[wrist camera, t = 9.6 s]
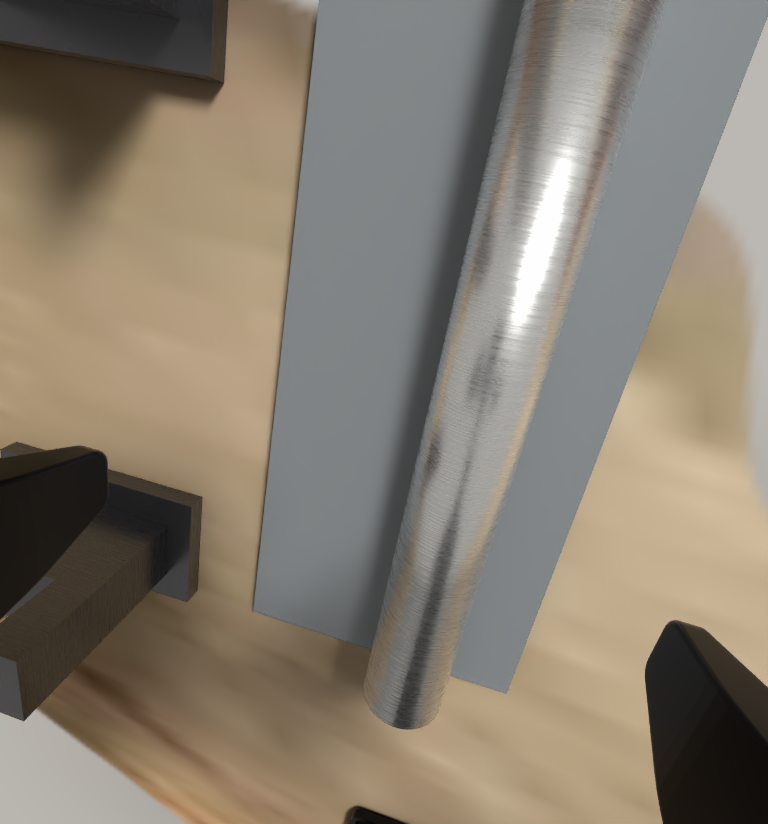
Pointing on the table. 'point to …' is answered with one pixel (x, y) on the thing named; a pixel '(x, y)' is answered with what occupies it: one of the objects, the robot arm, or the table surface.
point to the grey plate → (435, 291)
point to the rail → (505, 326)
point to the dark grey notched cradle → (127, 496)
